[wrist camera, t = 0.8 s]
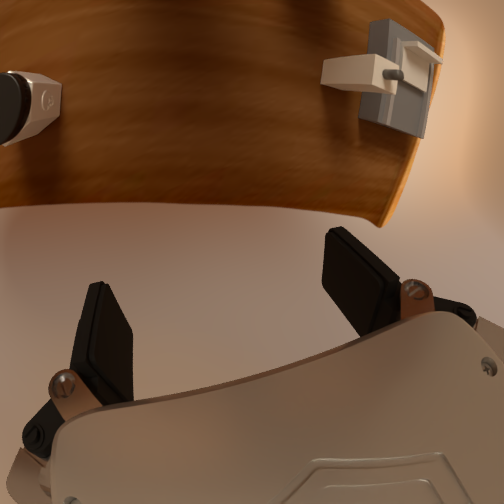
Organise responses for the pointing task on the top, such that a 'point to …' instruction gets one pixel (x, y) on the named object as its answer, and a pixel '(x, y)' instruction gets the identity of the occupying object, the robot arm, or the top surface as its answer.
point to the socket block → (407, 97)
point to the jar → (26, 105)
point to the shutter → (416, 63)
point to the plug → (362, 74)
